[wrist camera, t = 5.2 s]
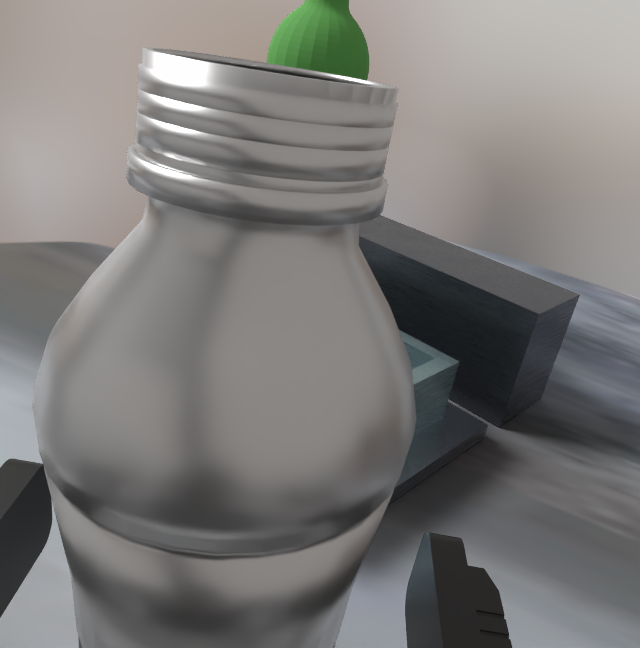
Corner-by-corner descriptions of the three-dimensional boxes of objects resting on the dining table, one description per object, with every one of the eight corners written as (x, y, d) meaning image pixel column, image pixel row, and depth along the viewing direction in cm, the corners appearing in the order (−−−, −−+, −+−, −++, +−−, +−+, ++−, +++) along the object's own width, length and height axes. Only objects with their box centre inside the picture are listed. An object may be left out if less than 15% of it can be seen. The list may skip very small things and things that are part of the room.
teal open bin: (260, 593, 25) (287, 433, 21) (54, 385, 35) (49, 254, 32) (540, 398, 43) (579, 294, 39) (349, 299, 53) (367, 210, 50)
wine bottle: (322, 310, 50) (402, -133, 37) (230, 291, 51) (277, -153, 38) (334, 278, 57) (405, -105, 44) (253, 261, 58) (299, -123, 45)
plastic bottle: (338, 963, 15) (618, 130, 7) (40, 1056, 13) (-48, 33, 5) (283, 709, 21) (404, 81, 13) (68, 747, 19) (47, 26, 11)
